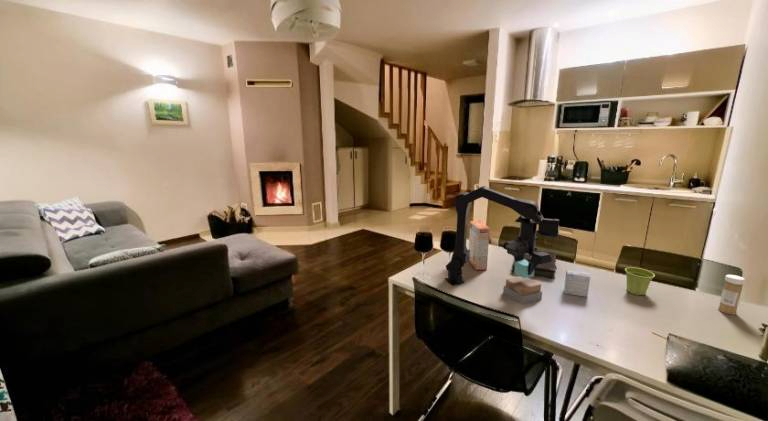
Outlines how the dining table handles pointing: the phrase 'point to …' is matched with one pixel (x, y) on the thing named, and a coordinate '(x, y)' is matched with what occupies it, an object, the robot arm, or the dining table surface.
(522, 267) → the teal cube
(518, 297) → the grey square slab
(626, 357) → the dining table surface
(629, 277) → the plant pot
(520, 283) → the tan square block
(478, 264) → the cracker box
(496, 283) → the dining table surface
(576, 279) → the medicine box
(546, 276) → the diary
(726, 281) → the sprinkles bottle
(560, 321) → the dining table surface
